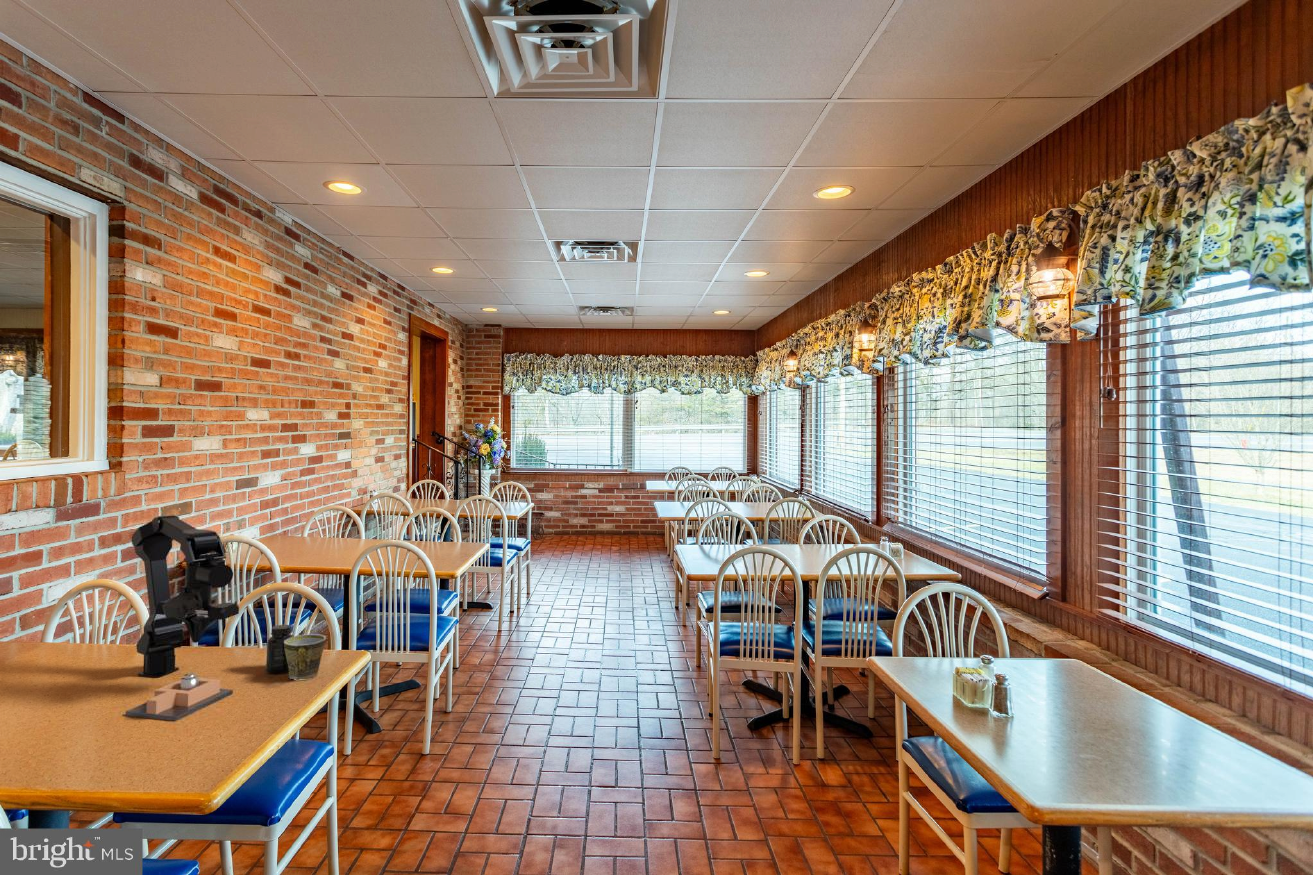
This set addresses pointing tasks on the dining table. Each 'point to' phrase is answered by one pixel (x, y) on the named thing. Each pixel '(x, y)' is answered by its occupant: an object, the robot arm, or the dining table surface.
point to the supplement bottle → (277, 649)
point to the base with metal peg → (180, 711)
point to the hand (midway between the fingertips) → (195, 642)
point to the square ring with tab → (181, 695)
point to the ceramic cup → (304, 655)
